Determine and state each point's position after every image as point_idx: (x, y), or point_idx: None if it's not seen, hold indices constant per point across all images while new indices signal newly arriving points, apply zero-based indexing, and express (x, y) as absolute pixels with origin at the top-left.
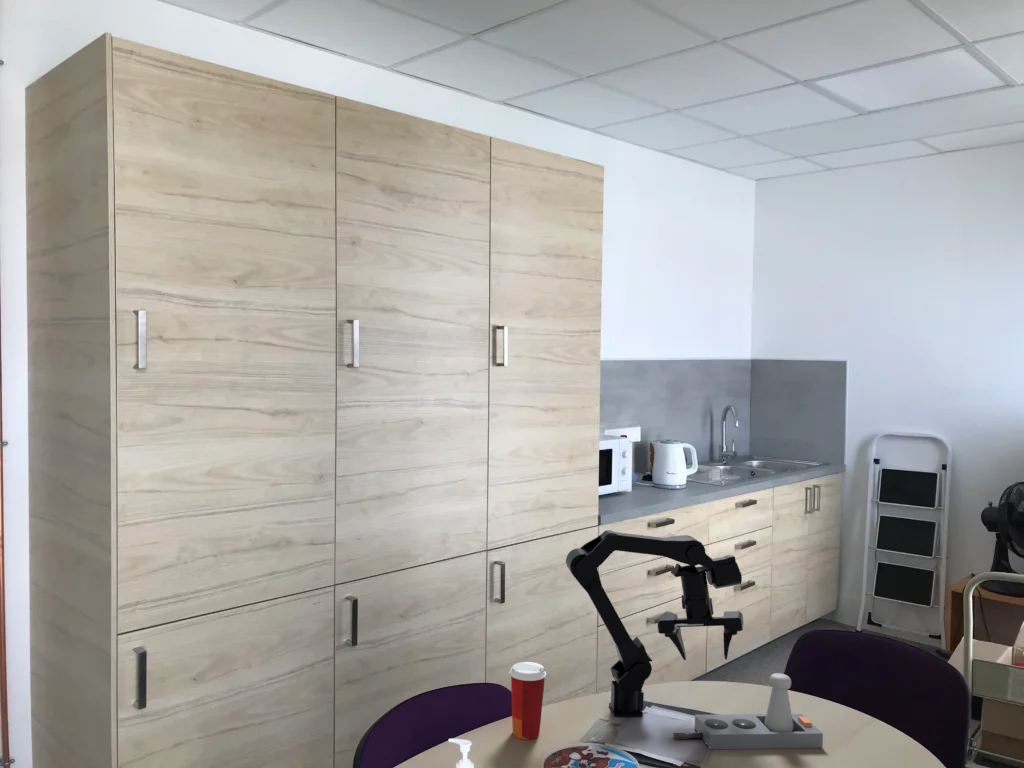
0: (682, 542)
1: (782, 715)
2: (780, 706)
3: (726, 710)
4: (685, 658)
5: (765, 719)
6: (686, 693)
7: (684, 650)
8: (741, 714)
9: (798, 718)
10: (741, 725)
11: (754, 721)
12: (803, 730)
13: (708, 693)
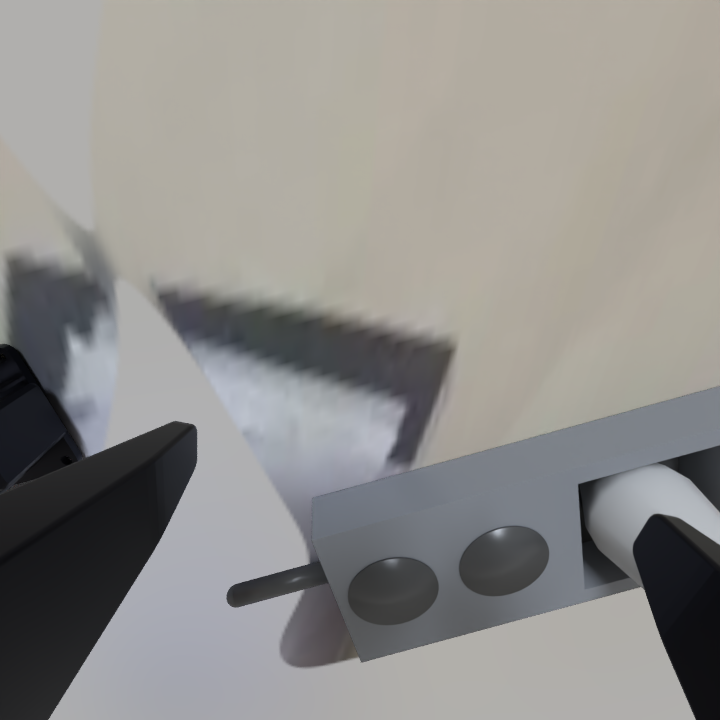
0: None
1: None
2: None
3: (472, 284)
4: (186, 484)
5: (604, 530)
6: (272, 73)
7: (130, 517)
8: (518, 485)
9: None
10: (490, 579)
11: (553, 531)
12: None
13: (413, 35)
